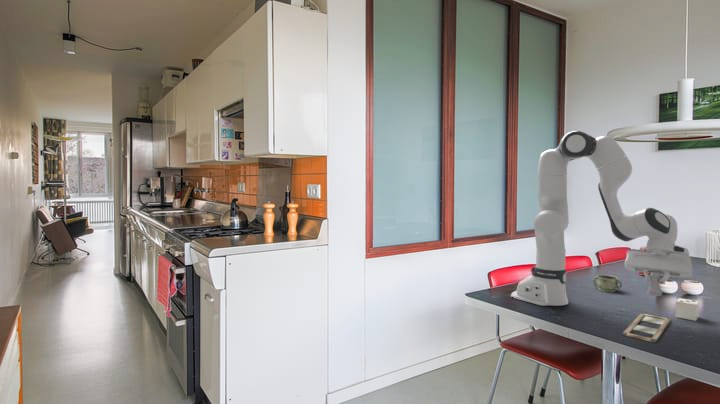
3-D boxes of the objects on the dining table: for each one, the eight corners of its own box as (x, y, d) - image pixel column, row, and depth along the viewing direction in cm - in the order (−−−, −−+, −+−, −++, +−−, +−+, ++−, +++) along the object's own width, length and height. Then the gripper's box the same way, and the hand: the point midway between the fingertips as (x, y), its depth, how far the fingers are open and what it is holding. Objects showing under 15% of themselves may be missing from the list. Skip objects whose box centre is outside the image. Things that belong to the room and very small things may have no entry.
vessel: (589, 289, 193) (590, 275, 193) (595, 285, 199) (596, 272, 199) (618, 294, 185) (619, 280, 184) (624, 290, 191) (624, 277, 190)
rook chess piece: (650, 292, 152) (651, 270, 152) (664, 295, 148) (665, 273, 148) (644, 294, 149) (645, 272, 149) (659, 297, 146) (660, 274, 145)
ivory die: (675, 316, 154) (676, 300, 153) (678, 313, 158) (678, 297, 158) (696, 320, 150) (696, 304, 149) (698, 317, 154) (698, 301, 153)
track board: (622, 335, 136) (622, 332, 136) (641, 315, 156) (641, 313, 155) (655, 342, 129) (655, 340, 129) (670, 321, 149) (670, 318, 149)
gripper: (626, 243, 160) (620, 272, 153) (693, 249, 146) (690, 281, 140) (628, 253, 164) (622, 282, 157) (694, 260, 150) (690, 292, 143)
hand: (654, 282), depth 148 cm, fingers closed on rook chess piece, 3 cm apart
